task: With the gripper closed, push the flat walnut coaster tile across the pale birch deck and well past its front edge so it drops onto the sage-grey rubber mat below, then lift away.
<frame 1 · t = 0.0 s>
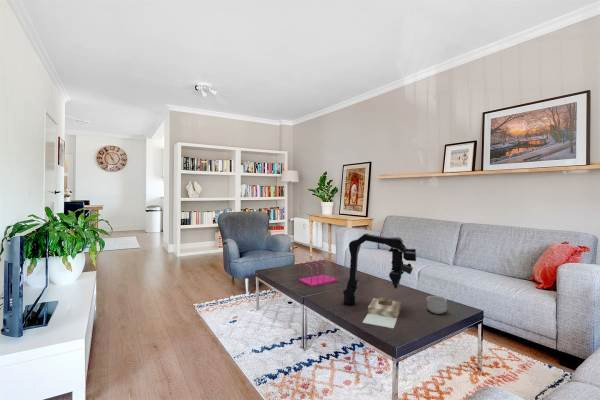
hand: (397, 286, 178), 15 cm above the table, fingers open, 9 cm apart
file sorter: (318, 281, 237), on the table
walnut tile: (385, 303, 180), point 4 cm above the table, touching birch deck
sage mat: (380, 320, 166), on the table
birch deck: (384, 311, 179), on the table
teacup: (437, 311, 178), on the table
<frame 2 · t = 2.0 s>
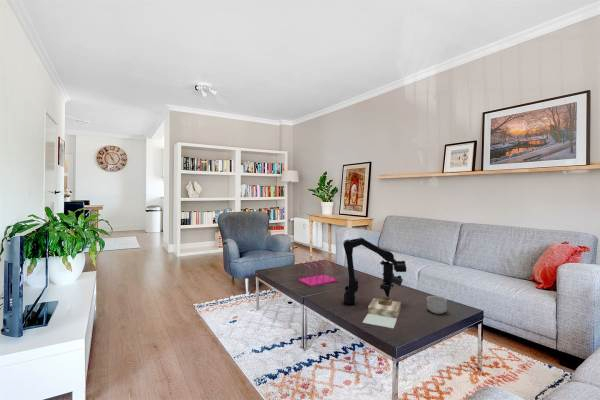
hand: (387, 296, 188), 5 cm above the table, fingers closed
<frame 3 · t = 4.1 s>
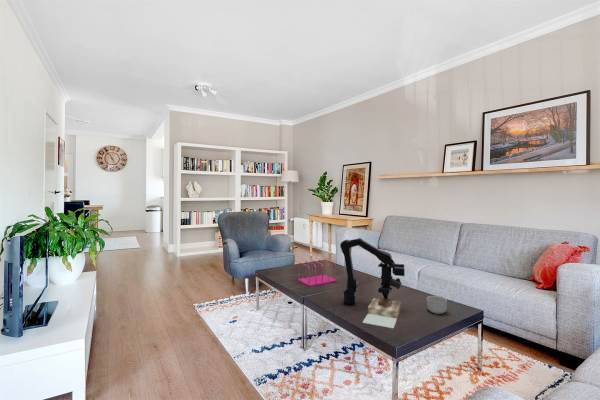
hand: (386, 300, 183), 5 cm above the table, fingers closed
walnut tile: (385, 304, 179), point 4 cm above the table, touching birch deck, gripper
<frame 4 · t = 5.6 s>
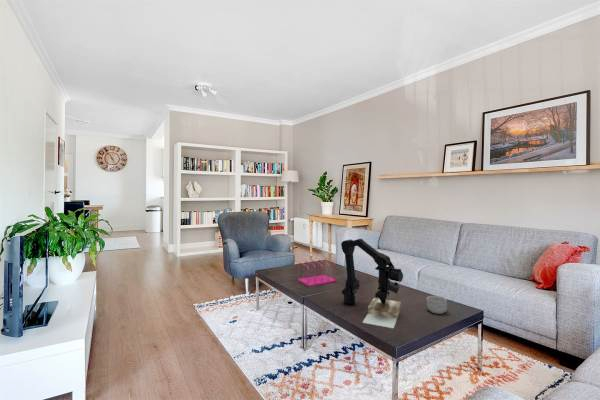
hand: (383, 305, 175), 5 cm above the table, fingers closed
walnut tile: (381, 309, 171), point 4 cm above the table, touching gripper
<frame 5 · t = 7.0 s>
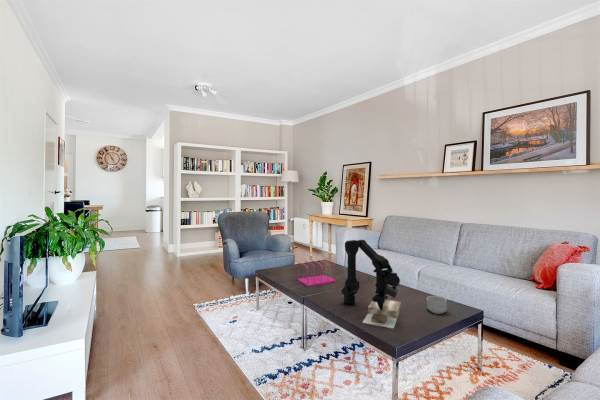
hand: (381, 309, 168), 5 cm above the table, fingers closed
walnut tile: (379, 316, 165), point 2 cm above the table, tilted 180°, touching sage mat
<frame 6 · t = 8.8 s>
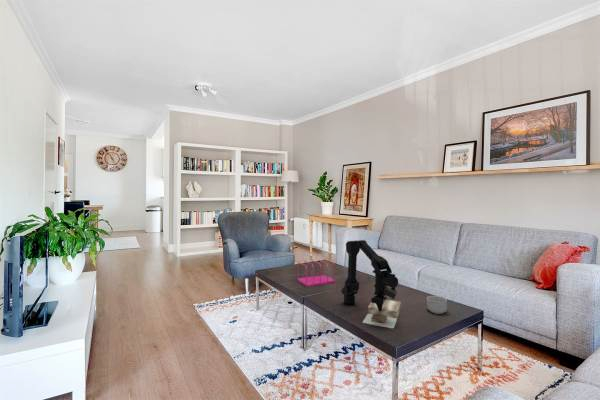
hand: (380, 311, 166), 5 cm above the table, fingers closed
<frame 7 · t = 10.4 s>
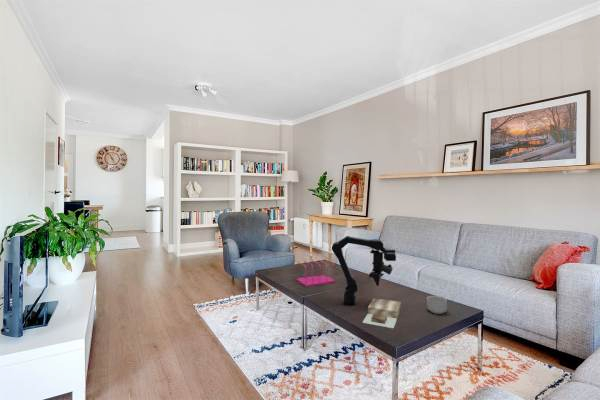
hand: (377, 285, 188), 12 cm above the table, fingers closed
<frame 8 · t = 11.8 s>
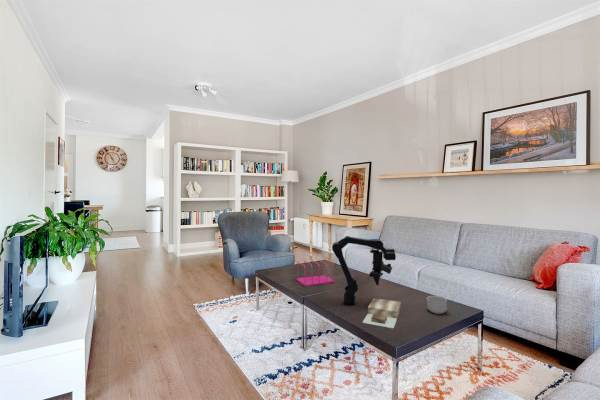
hand: (377, 285, 189), 12 cm above the table, fingers closed
at the end: walnut tile inside the target area (0.4 cm from its centre), point 2.5 cm above the table; walnut tile touching sage mat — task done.
